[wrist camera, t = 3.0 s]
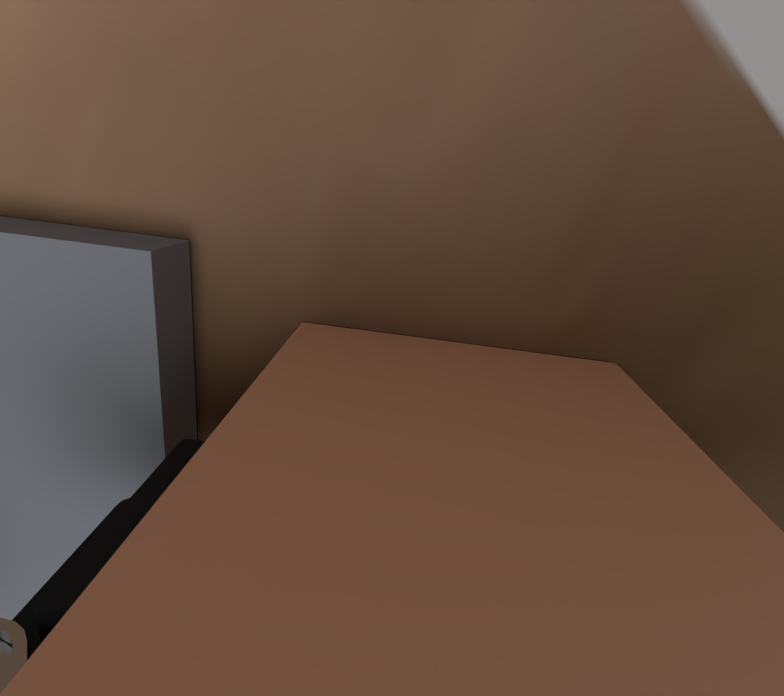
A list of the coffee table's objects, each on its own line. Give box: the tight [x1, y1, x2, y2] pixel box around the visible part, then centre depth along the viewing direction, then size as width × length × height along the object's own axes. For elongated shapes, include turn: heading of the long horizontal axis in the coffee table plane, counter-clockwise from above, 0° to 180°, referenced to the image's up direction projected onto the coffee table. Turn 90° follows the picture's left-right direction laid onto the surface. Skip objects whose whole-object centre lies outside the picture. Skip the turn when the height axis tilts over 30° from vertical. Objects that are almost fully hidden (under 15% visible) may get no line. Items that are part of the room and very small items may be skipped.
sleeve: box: [0, 322, 784, 696], centre depth 8 cm, size 7×7×8 cm
